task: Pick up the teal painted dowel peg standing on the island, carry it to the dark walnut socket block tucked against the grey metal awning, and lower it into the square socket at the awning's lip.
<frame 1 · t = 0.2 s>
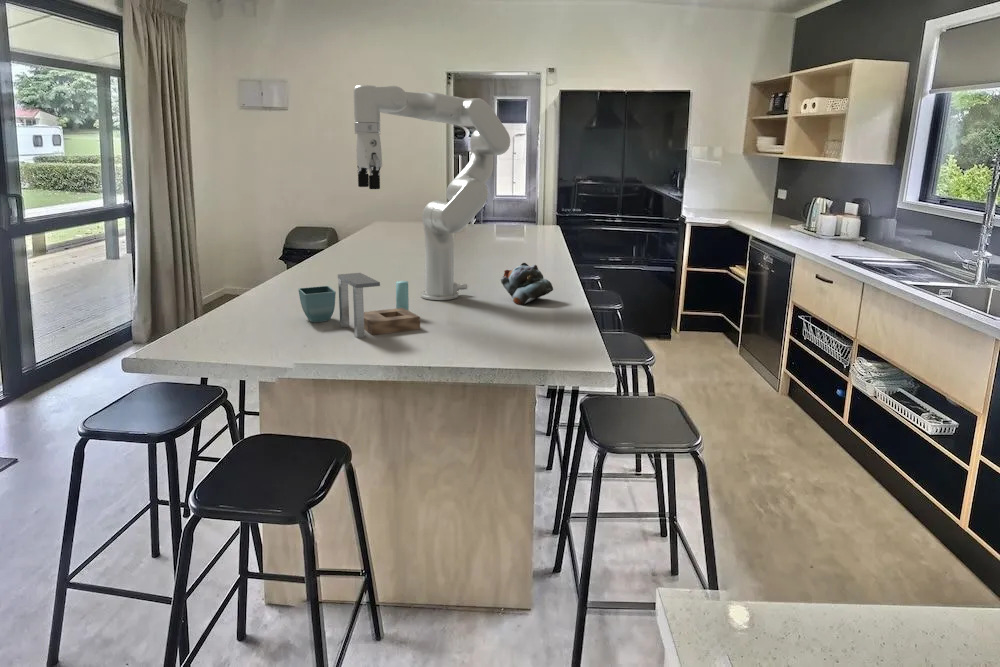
hand: (368, 187, 216), 36 cm above the countertop, tool pointing down, fingers open, 9 cm apart
awning: (353, 331, 195), on the countertop
socket: (388, 326, 199), on the countertop
peg: (402, 315, 213), on the countertop
flower pot: (318, 321, 205), on the countertop
lucky cat figurine: (526, 301, 235), on the countertop
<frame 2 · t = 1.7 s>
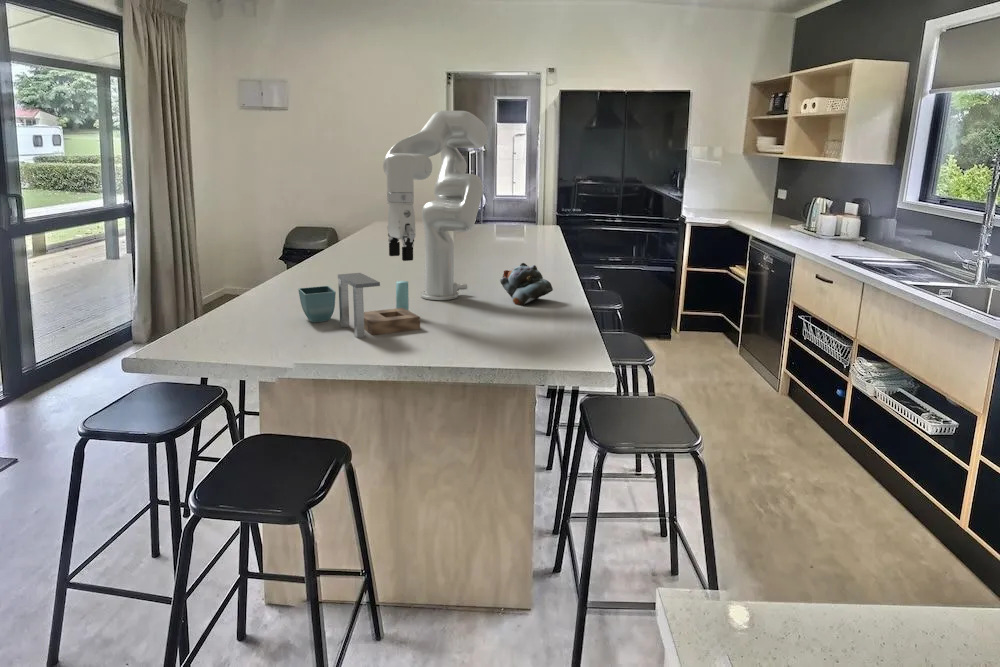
hand: (400, 258, 208), 17 cm above the countertop, tool pointing down, fingers open, 9 cm apart
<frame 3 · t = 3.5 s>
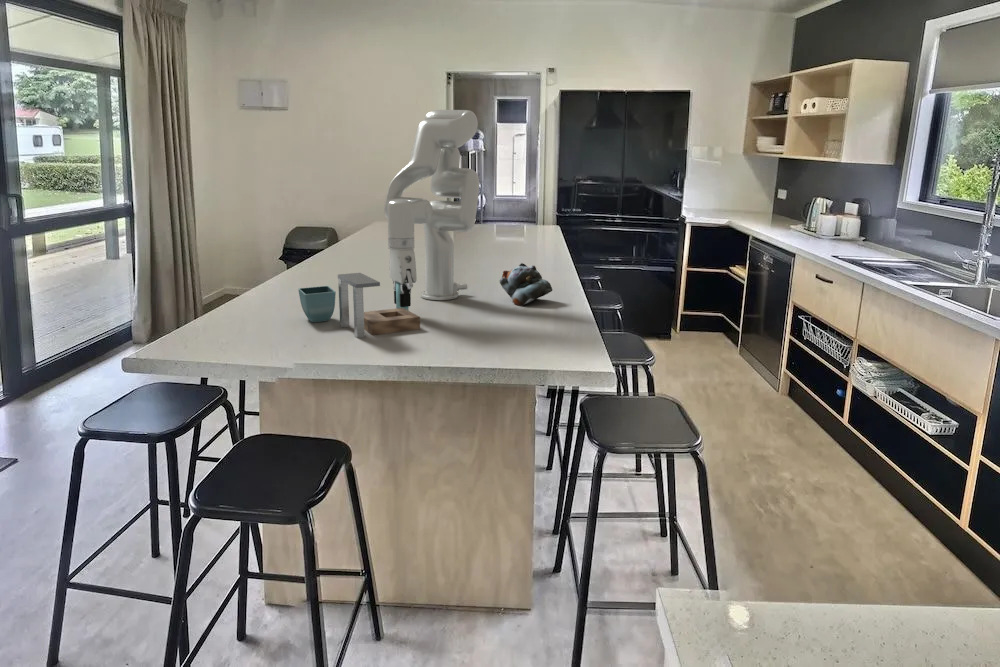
hand: (402, 304, 212), 3 cm above the countertop, tool pointing down, fingers closed on peg, 3 cm apart
peg: (402, 315, 213), on the countertop, touching gripper
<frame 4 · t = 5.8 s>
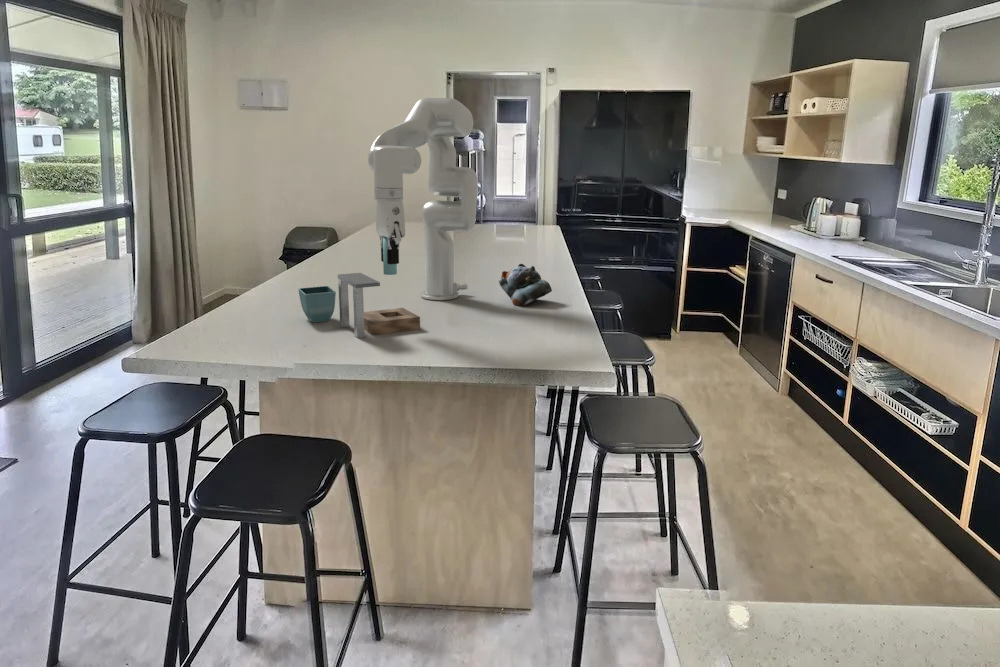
hand: (390, 261, 195), 18 cm above the countertop, tool pointing down, fingers closed on peg, 3 cm apart
peg: (390, 273, 196), point 15 cm above the countertop, touching gripper
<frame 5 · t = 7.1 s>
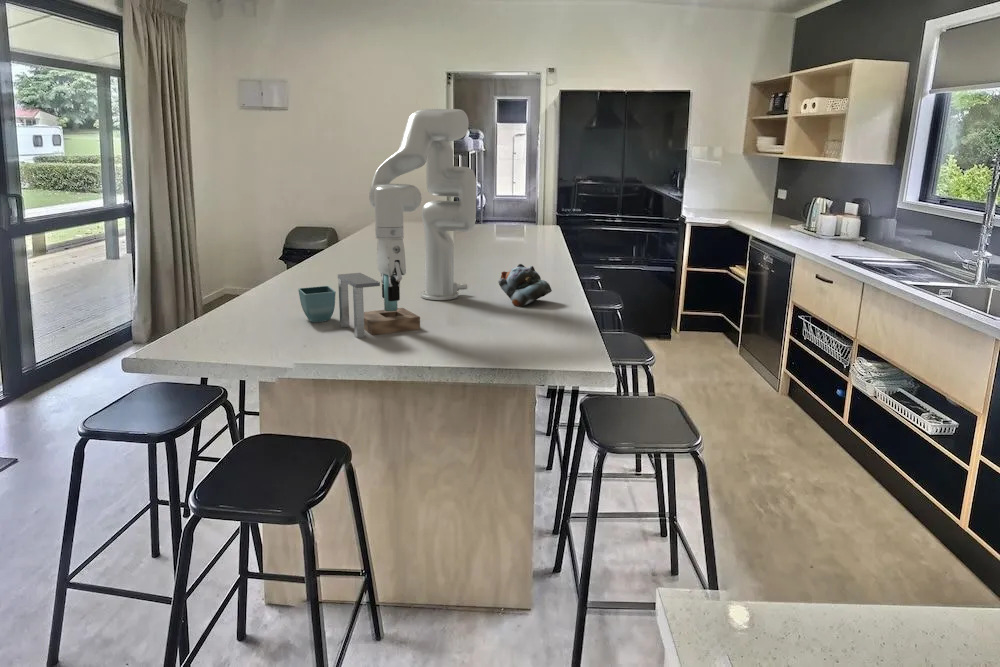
hand: (390, 298, 198), 8 cm above the countertop, tool pointing down, fingers closed on peg, 3 cm apart
peg: (391, 309, 199), point 5 cm above the countertop, touching gripper
when the fingers open (4 cm above the countertop, at t = 8.1 s): peg stays where it is, resting in socket.
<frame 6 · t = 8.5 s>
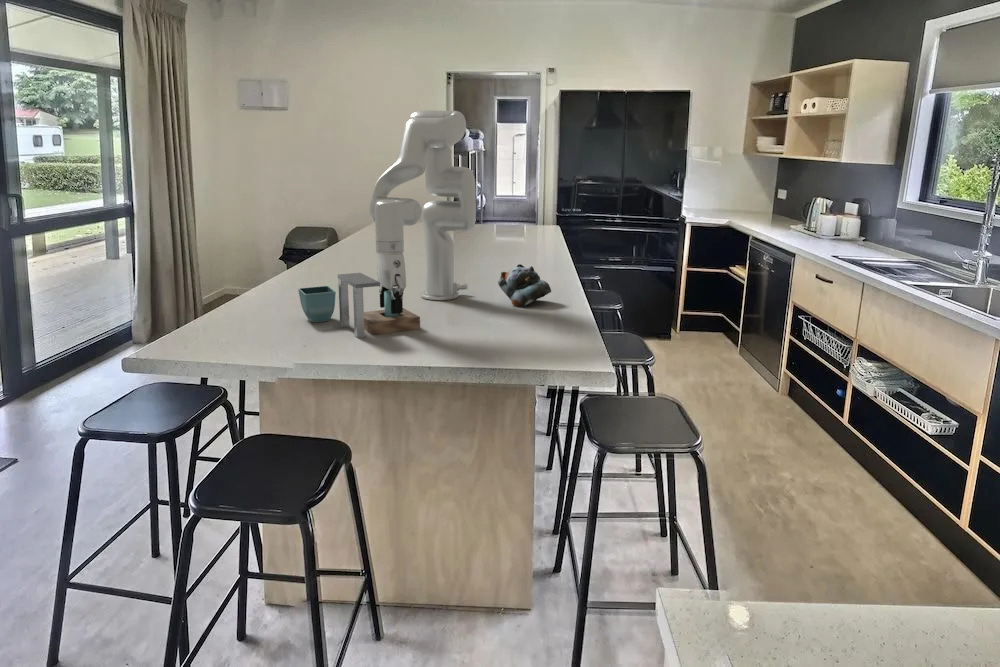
hand: (391, 309, 199), 5 cm above the countertop, tool pointing down, fingers open, 7 cm apart
peg: (391, 326, 200), resting in socket
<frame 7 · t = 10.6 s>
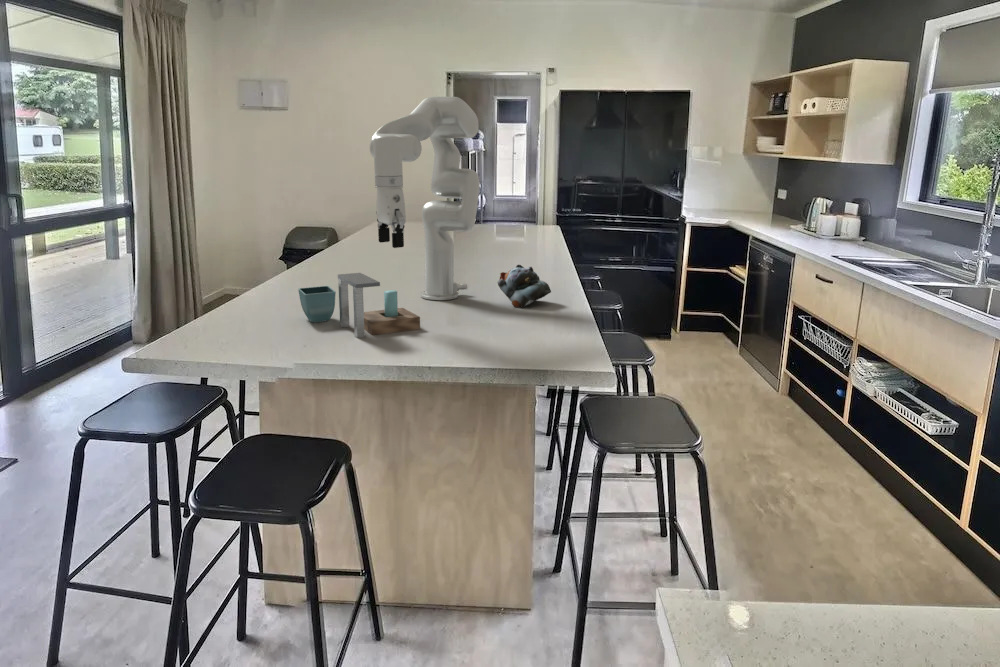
hand: (391, 244, 199), 22 cm above the countertop, tool pointing down, fingers open, 9 cm apart
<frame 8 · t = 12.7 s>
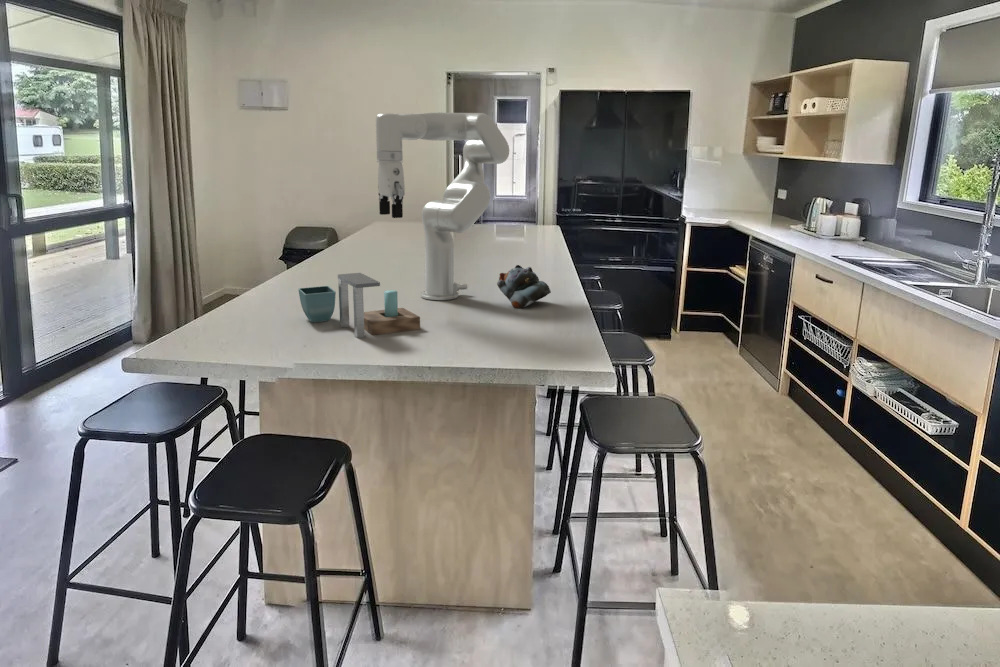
hand: (390, 216, 214), 28 cm above the countertop, tool pointing down, fingers open, 9 cm apart
at the end: peg 0.1 cm from the target spot on the socket, point 0.0 cm above the socket's base; peg tilted 0°; the gripper is holding nothing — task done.
